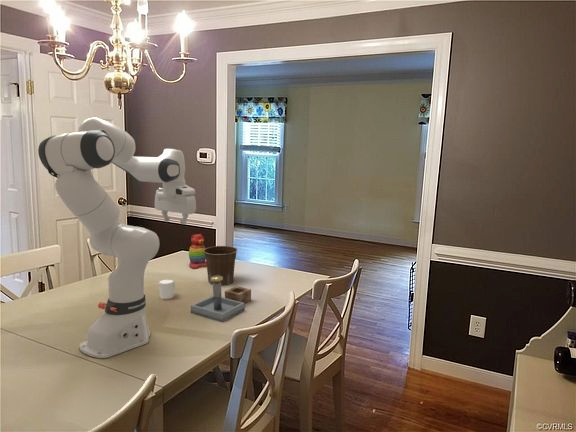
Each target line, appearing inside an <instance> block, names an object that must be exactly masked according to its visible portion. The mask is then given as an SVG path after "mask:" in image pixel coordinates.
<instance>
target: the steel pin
mask: <svg viewBox="0 0 576 432" xmlns="http://www.w3.org/2000/svg"><path fill="white" fill-rule="evenodd" d="M222 280H223V277H222V276H219V275H217V276H212V277H211V281H212V282H213V285H212V293H213V294H212V296H213V300H214V310H221V309H222V285H221V281H222Z"/></svg>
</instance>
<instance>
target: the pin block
mask: <svg viewBox="0 0 576 432" xmlns="http://www.w3.org/2000/svg"><path fill="white" fill-rule="evenodd" d="M224 298H227V299H231V300H235V301H238V302H242V303H245V304H247V303H249V302H251V301H252V289H251V288H247V287H242V286H237V285H236V286H233V287H231V288H228V289H227V290H225V291H224Z"/></svg>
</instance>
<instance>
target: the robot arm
mask: <svg viewBox="0 0 576 432" xmlns="http://www.w3.org/2000/svg"><path fill="white" fill-rule="evenodd" d="M37 151H38V152H37V153H38V157H39V159H40V162H41V164H42V165H43V167H44V168H45V169H46V170H47V171H48V174H50V176H52V177H54V178H56V180H55V184H54V188H55V190H56V193H57V194H58V197H59V198H60V199H61V201H62V202H63V204H64V205H65V206H66V207H67V208H68V210H69V211H70V212H71V213H72V214H73V216H75V218H77V219H78V221H79V222H81V223H82V225H83V226H84V227H85V228H86V229H87V230H88V232H89V233H90V234H89V244H90V246H91V248H92V249H93V250H94V251H96V252H98V253H100V254H102V255H104V256H109V257H114V258H117V259H118V260H117V263H118V264H117V267H116V268H115V270H113V271H112V272H111V273H110V274H109V276H108V278H107V281H108V298H107V302H106V303H105V302H103V301H100V302H99V303H98V304H97V307H98V309H101V310H104V311H103V313H102V314H101V315H99V317H98V318H97V319H96V320H95V321H94V322H93V323H92V324H91V326H90V327H89V328H88V330H87V334H86V340H84V341H83V342H80V343H79V350H80V352H82V353H83V354H85V355H86V356H90V357H93V358H97V359H107V358H110V357H113V356H116V355H119V354H121V353H124V352H127V351H129V350H132V349H135V348H138V347H140V346H144V345H147V344H148V343H149V342H150V340H149V337H150V335H151V331H150V327H149V324H148V322H147V321H148V320H147V316H146V305H147V303H146V294H145V287H144V286H145V285H144V284H145V272H146V268H147V265H148V264H149V262H150V261H151V260H152V259H153V258H154V257H155V256H156V255H157V254H158V251H159V249H160V238H159V236H158V234H157V233H156V232H155V231H152V230H150V229H148V228H145V227H143V226H142V227H141V226H137V225H136V226H134V225H129V224H125V223H124V222H122V221H120V220H119V217H120V214H121V213H120V212H121V211H120V208H119V205H118V204H117V203H116V202H115V201H114V199H112V197H111V196H110V194H108V192H107V191H106V190H105V189H104V188H103V187H102V185H101V184H100V183H99V182H98V181H96V180H95V178H94V176H93V173H92V169H93V170H94V169H100V168H101V169H102V168H104V167H106V166H108V165H110V164H113V165H115V166H116V167H118V168H119V169H122V170H123V171H124V172H125V173H126V174H127V175H128V176H129V177H130V179H132V180H133V181H134V182H136V183H146V182H147V183H162V187H158V188H157V189H156V190H155V197H154V209H155V210H156V211H161V214H162V217H163V222H166V223H168V222H170V216H169V215H168V213H179V214H181V216H182V219H180V220H179V221H180V224H181V225H186V224H187V221H188V220H187V219H188V218H189V215H193V214H196V211H197V201H196V196H195V195H196V190H195V188H193V187H190V186H189V185H187V184H186V179H185V175H186V174H185V173H186V161H185V155H184V153H183V151H182V150H181V149H178V148H172V147H170V148H169V147H168V148H163V152H162V154H160V155H158V156H157V157H156V156H142V155H135V156H134V154H135V153H136V142H135V139H134V138H133V136H131V135H130V133H128V132H127V131H126V130H124V129H122V128H121V127H119V126H118V125H115V124H113V123H112V122H110V121H107V120H104V119H101V118H99V117H88V118H87V119H85V120H84V121H82V122H81V124H79V127H78V130H77V131H75V132H73V131H72V132H71V131H70V132H65V133H61V134H58V135H56V134H55V135H52V136H48V137H46V138H45V139H43V140H42V141H40V143H39V145H38V149H37Z"/></svg>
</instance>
